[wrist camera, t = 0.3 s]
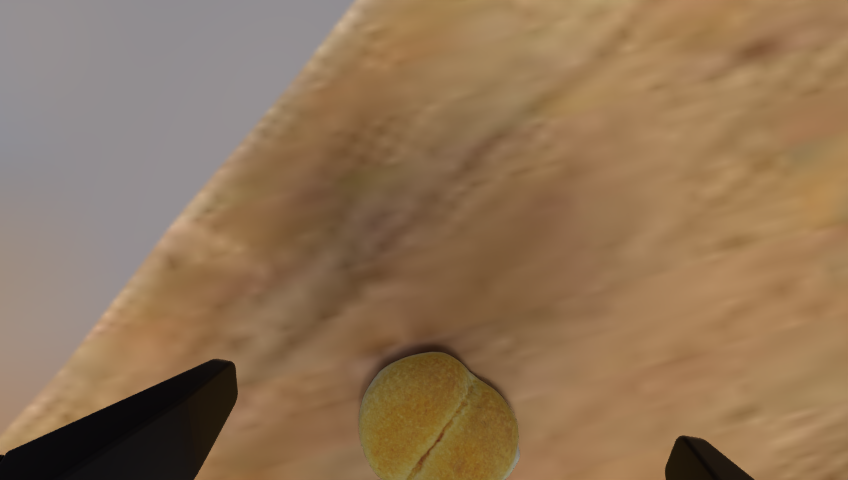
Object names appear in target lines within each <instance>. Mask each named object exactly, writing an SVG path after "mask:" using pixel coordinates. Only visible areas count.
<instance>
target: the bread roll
mask: <svg viewBox="0 0 848 480" xmlns="http://www.w3.org/2000/svg"><path fill="white" fill-rule="evenodd" d="M359 435H360V440H361V445H362V447H363V450H364V453H365V456H366V458H367V460H368V462H369V464H370V466H371V468H372V469H373V471H374V472H375V473H376V474H377V475H378V476H379V477H380V478H381V479H382V480H505V479H506V478H507V477H508V476H509V475H510V474H511V472H512V470H513V469H514V467H515V465H516V464H517V462H518V460H519V457H520V451H519V446H518V439H519V434H518V425H517V421H516V418H515V416H514V414H513V412H512V411H511V409H510V408H509V406H508V405H507V403H506V402H505V400H504V399H503V397H502V396H501V395H500V394H499V393H498V392H497V391H496V390H494V389H493V388H491V387H490V386H489V385H487V384H486V383H484V382H482V381H481V380H479V379H478V378H477V377H475V376H474V375H473V374H472V373H470V372H469V371H468V370H467V368H466V367H465V366H464V365H463V364H462V363H461V362H459V361H458V360H457V359H455V358H454V357H452V356H450V355H448V354H446V353H442V352H426V353H421V354H416V355H412V356H408V357H405V358H402V359H400V360H398V361H395V362H393V363H391V364H389V365H388V366H386V367H385V368H384V369H382V370H381V371H380V372H379V373H378V375H377V376H376V377H375V378H374V379H373V381H372V382H371V384H370V386H369V387H368V389H367V391H366V392H365V395H364V397H363V400H362V404H361V407H360V412H359Z"/></svg>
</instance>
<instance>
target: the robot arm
mask: <svg viewBox="0 0 848 480" xmlns="http://www.w3.org/2000/svg"><path fill="white" fill-rule="evenodd" d="M237 395H238V390H237V378H236V368H235V364H234V363H233V362H231V361H227V360H221V359H212V360H210V361H208V362H206V363H203V364H201V365H199V366H197V367H194V368H192V369H190V370H188V371H186V372H183V373H181V374H179V375H177V376H174V377H172V378H170V379H168V380H166V381H163V382H161V383H159V384H157V385H155V386H152V387H150V388H148V389H146V390H143V391H141V392H139V393H137V394H135V395H132V396H130V397H128V398H126V399H123V400H121V401H119V402H117V403H115V404H112V405H110V406H108V407H106V408H103V409H101V410H99V411H97V412H95V413H92V414H90V415H88V416H86V417H84V418H81V419H79V420H77V421H75V422H72V423H70V424H68V425H66V426H64V427H61V428H59V429H57V430H55V431H52V432H50V433H48V434H46V435H44V436H41V437H39V438H37V439H35V440H32V441H30V442H28V443H26V444H24V445H21V446H19V447H17V448H15V449H12V450H10V451H8V452H7V453H6V454H5V456H4V455H0V480H194V479H195V477H196V475H197V474H198V472H199V470H200V469H201V467H202V465H203V463H204V461H205V460H206V458H207V456H208V454H209V452H210V450H211V448H212V446H213V445H214V443H215V441H216V439H217V437H218V435H219V433H220V431H221V429H222V428H223V426H224V424H225V422H226V420H227V418H228V416H229V414H230V413H231V411H232V409H233V407H234V405H235V403H236V400H237ZM665 477H666V480H754V479H753V478H752V477H751V476H749V475H748V474H747V473H746V472H744V471H743V470H742V469H741V468H739V467H738V466H737V465H736V464H734V463H733V462H732V461H731V460H729V459H728V458H727V457H726V456H724V455H723V454H722V453H721V452H719V451H718V450H717V449H716V448H714V447H713V446H712V445H711V444H709V443H708V442H707V441H706V440H704V439H701V438H696V437H690V436H679V437H678V438H677V439H676V441H675V444H674V446H673V449H672V451H671V454H670V457H669V459H668V462H667V464H666V468H665Z"/></svg>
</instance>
